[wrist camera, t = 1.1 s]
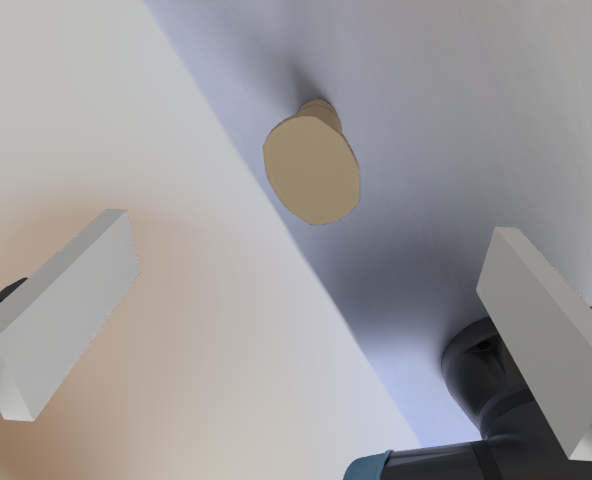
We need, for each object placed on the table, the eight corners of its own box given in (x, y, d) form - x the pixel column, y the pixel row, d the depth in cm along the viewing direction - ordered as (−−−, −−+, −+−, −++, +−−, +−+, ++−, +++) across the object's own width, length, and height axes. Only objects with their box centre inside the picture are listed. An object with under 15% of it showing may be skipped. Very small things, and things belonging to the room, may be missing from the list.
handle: (325, 67, 33) (324, 99, 20) (357, 135, 36) (376, 202, 23) (276, 96, 34) (245, 144, 21) (310, 159, 37) (302, 236, 24)
